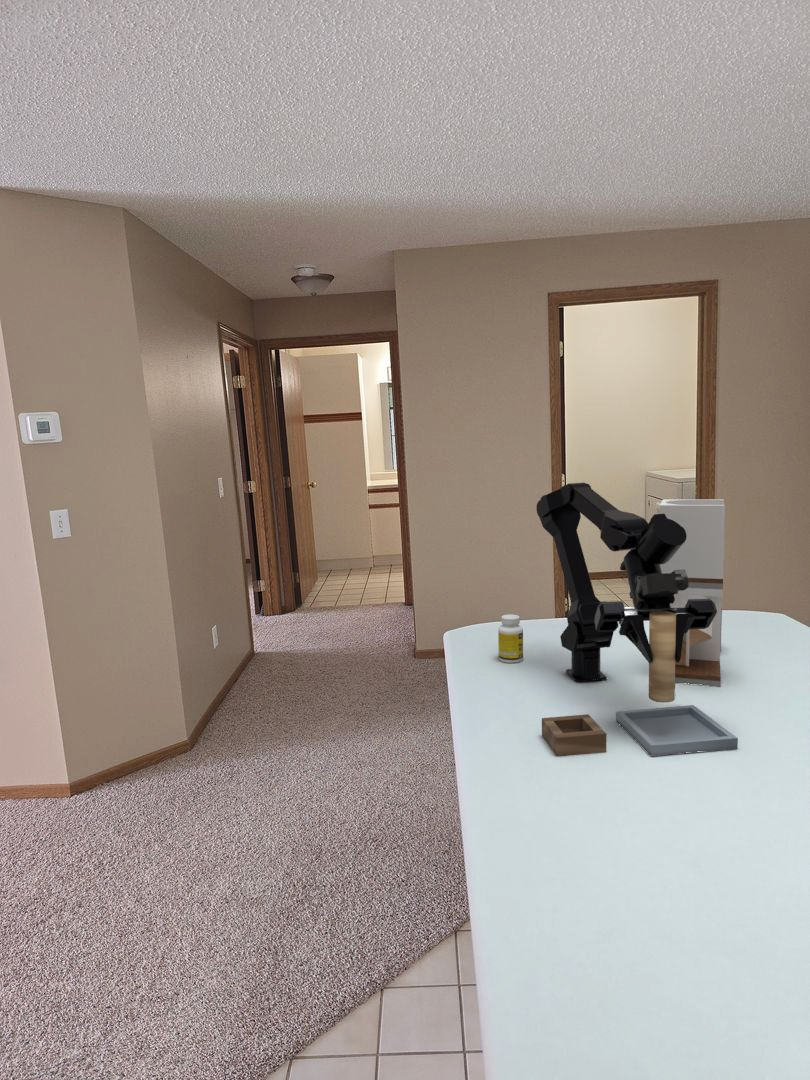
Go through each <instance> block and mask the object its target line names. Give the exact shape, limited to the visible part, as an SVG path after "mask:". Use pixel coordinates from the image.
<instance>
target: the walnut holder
mask: <svg viewBox="0 0 810 1080" xmlns="http://www.w3.org/2000/svg"><path fill="white" fill-rule="evenodd" d="M541 736H542V737H543V739H544V741H545V742H546V743H547V745H548V746H549V747H550V749H551V750H552V752H553V753H554V754H555V756H556V757H562V756H574V755H584V754H598V753H605V752H607V733H606V731H605V730H603V728H602V727H601V726H600V725H599V724H598V723H597V722H596V721H595V720H594V719H593V717H591V715H590V714H588V713H586V714H575V715H562V716H550V717H541Z"/></svg>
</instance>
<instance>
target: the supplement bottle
mask: <svg viewBox="0 0 810 1080" xmlns="http://www.w3.org/2000/svg"><path fill="white" fill-rule="evenodd" d="M520 618H521V617H520V616H519V615H517V614H504V615H502V616H501V620H500V621H501V625H500V626H499V627H498V631H497V632H498V633H497V634H498V635H497V636H498V637H497V638H498V659H499V661H501V662H502V663H507V664H515V663H520V662H522V661H523V660H524V630H523V627H522V626H521V625H520V624H521V623H520V622H521V619H520Z"/></svg>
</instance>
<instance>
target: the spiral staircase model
mask: <svg viewBox="0 0 810 1080" xmlns="http://www.w3.org/2000/svg"><path fill="white" fill-rule="evenodd" d="M663 513H664V514H665V515H666V517H667V518H668V519H671V520H673V521H675V522H677V523H678V524H679V525H680V526H681V527H683V528H684V529H685V532H686V536H687V537H686V541H685V542H684V543H683V545H682V546H681V547H680V548H679V549H678V550H677V552H676V553H675V554H674V555H673V556H672V558H671V559H670V560H669V561H668V562H667V563H665V564H660V567H661V571H662V574H663V573H672V572H673V571H674V570H684V569H685V571H686V574H687V577H688V583H689V586H688V588H687V589H685V590H682V591H678V594H674V598H675V600H674V603H670V607H671V608H684V607H685V605H686V603H687V601H688V599H710V600H712V601H713V602H714V603H715V606H716V609H717V613H716V615H715V617H714V618H713V620H712V622H711V624H710V626H709V627H708V628H705V629H689V630H688V632H687V633H684V636H683V643H682V652H681V659H680V661H679V662H676V660H675V684H679V683H687V684H686V685H690V684H702V685H709V686H708V687H713V686H716V688H721V684H722V683H721V682H722V681H721V680H722V677H721V676H722V675H721V653H720V637H721V638H722V625H721V607H722V597H724V596H723V595H724V562H725V560H724V558H725V557H724V556H725V555H724V554H725V525H726V524H725V523H726V522H725V520H726V514H725V513H726V505H725V499H715V498H714V499H710V498H709V499H706V498H705V499H703V498H701V499H700V498H699V499H694V498H693V499H675V498H674V499H672V498H671V499H662V501H661V502H660V504H659V514H663ZM688 683H689V684H688ZM702 685H701V686H702Z"/></svg>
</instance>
